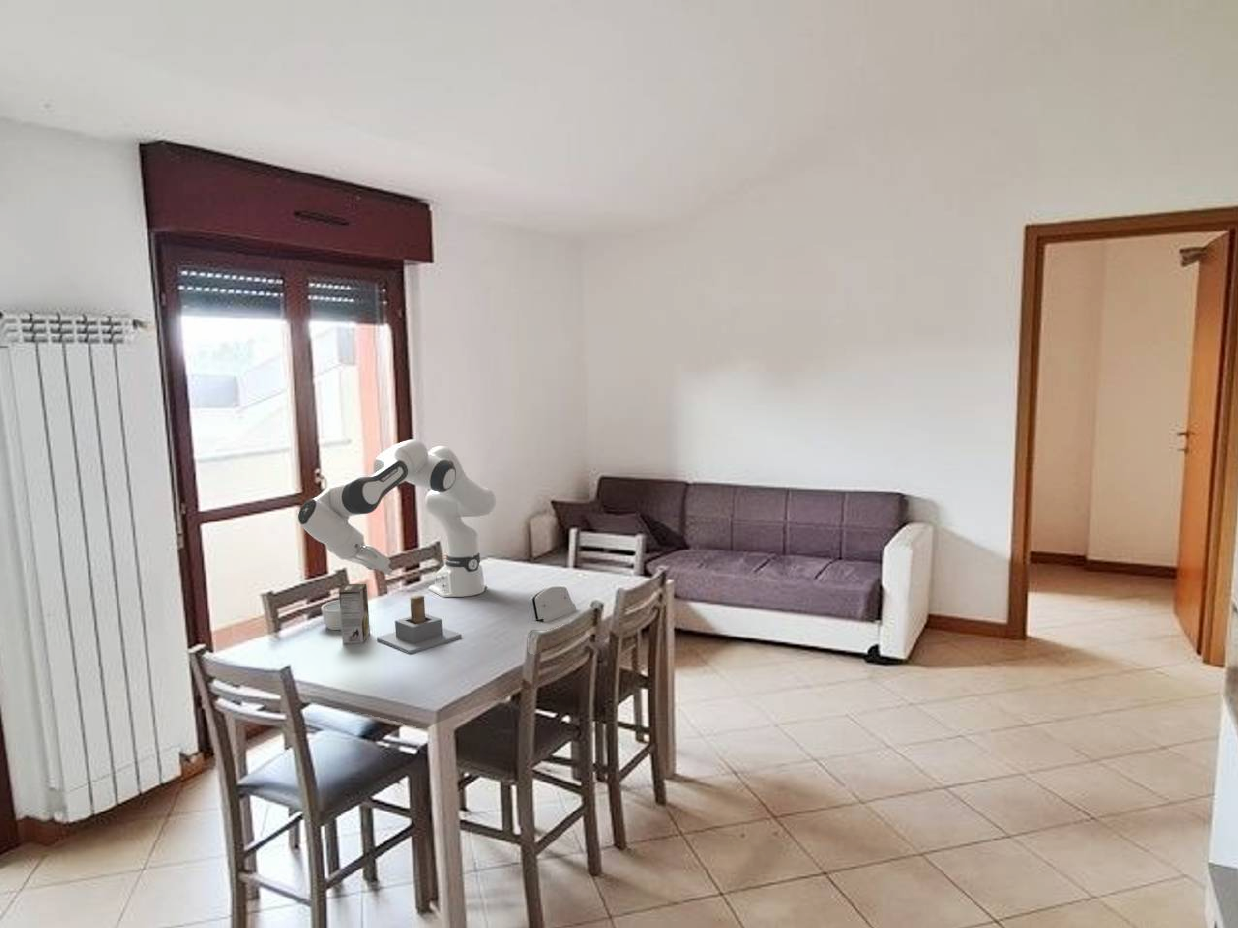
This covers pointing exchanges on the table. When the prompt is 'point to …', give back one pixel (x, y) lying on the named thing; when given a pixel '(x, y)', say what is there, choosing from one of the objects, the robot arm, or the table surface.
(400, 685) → the table surface
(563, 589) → the hinge
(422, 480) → the robot arm
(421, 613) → the pin
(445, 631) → the socket block
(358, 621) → the coffee box
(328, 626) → the ramekin
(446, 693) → the table surface
